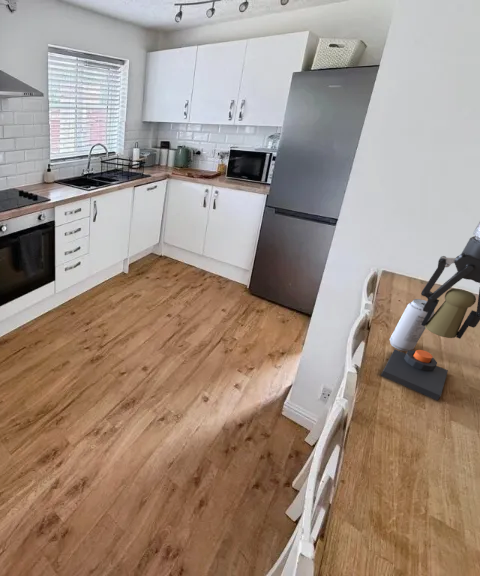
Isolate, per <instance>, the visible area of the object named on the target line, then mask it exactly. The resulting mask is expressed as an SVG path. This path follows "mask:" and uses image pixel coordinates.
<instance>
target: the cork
mask: <svg viewBox="0 0 480 576" xmlns="http://www.w3.org/2000/svg"><path fill="white" fill-rule="evenodd" d="M476 301H477V298H476V295H475V294H474V293H473V292H470V291H468V290H465V289H463V288H462V289H461V288H450V289H448V290H447V291H446V292H445V293H444V301H443V303H442V304H441V305H440V306H439V308H437V310H436V311H434V315H433V316H432V317H431V318H430V320H429V321H428V322H427V323H426V325H425V330H427V331H428V332H430V333H432V334H434V335H436V336H439V337H442V338H446V339H454V338H457V337H456V336H457V333H458V331H459V330H460V328H461V327H462V324H463V321H464V318H465V316H466V314H467V311H468V308H471V307H473V305H475V303H476Z"/></svg>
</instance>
